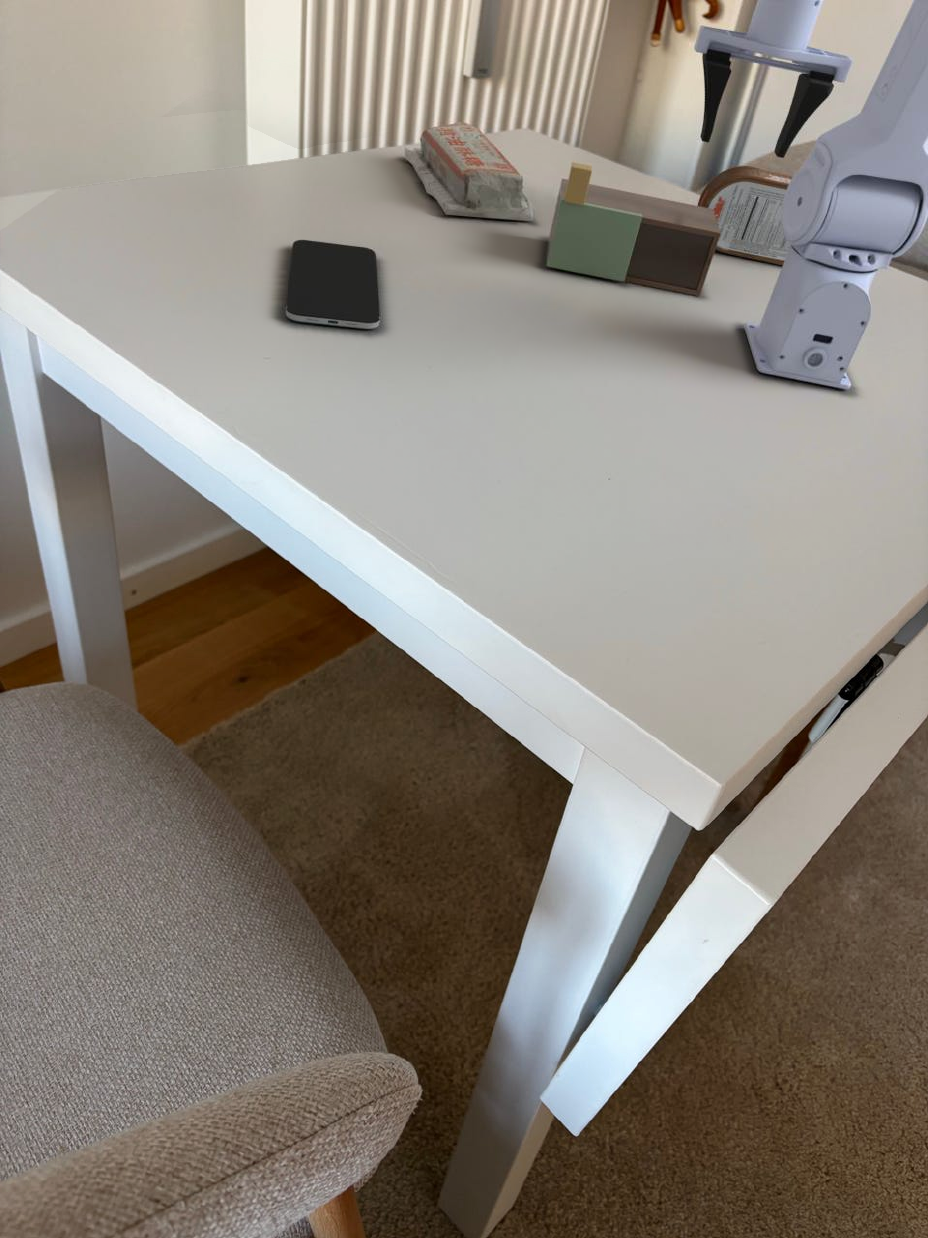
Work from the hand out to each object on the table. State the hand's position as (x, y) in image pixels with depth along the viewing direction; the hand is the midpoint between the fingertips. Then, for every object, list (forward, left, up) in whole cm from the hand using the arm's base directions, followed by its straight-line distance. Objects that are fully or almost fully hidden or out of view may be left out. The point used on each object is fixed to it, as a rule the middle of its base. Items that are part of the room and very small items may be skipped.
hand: (741, 147), depth 94 cm
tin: (0, -5, -10) cm, 11 cm away
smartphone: (-29, +35, -10) cm, 47 cm away
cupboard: (-11, +10, -10) cm, 18 cm away
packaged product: (+3, +27, -10) cm, 29 cm away
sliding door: (-15, +14, -10) cm, 23 cm away
